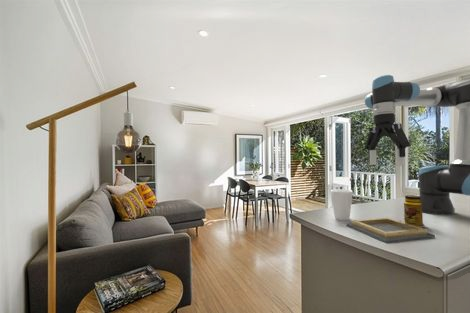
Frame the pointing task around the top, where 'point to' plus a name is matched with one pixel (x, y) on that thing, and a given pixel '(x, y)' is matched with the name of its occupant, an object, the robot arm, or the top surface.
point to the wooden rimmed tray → (389, 230)
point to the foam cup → (342, 203)
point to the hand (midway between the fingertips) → (386, 165)
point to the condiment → (413, 211)
